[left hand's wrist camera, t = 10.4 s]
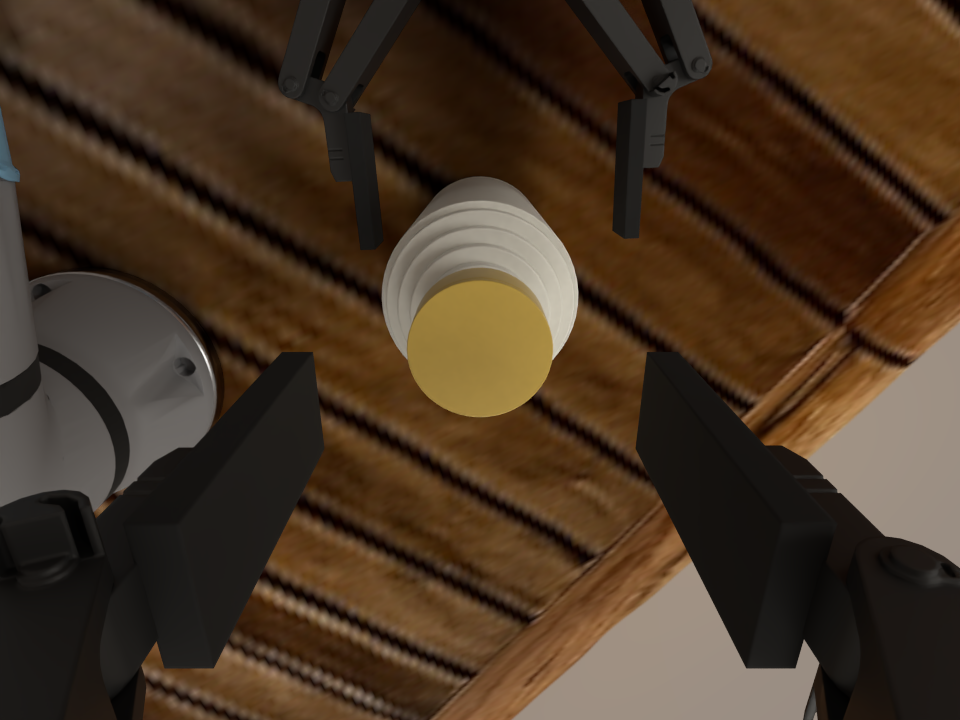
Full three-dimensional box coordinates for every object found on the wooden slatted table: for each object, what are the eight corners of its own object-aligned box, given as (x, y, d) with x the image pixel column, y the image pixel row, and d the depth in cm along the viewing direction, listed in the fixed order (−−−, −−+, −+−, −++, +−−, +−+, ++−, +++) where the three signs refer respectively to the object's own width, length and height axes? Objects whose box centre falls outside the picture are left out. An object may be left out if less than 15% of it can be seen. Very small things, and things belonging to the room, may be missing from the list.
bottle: (519, 313, 38) (556, 480, 20) (405, 281, 37) (331, 423, 19) (558, 198, 35) (645, 263, 17) (436, 159, 35) (385, 184, 16)
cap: (522, 407, 20) (526, 432, 18) (399, 374, 20) (391, 396, 18) (565, 289, 18) (574, 304, 17) (432, 249, 18) (427, 261, 16)
